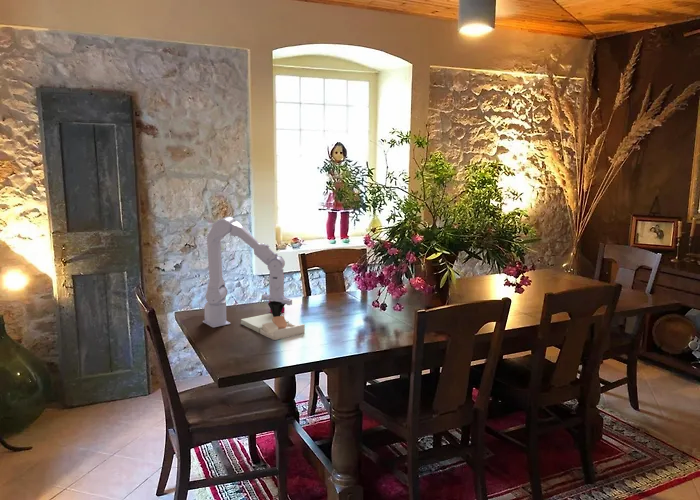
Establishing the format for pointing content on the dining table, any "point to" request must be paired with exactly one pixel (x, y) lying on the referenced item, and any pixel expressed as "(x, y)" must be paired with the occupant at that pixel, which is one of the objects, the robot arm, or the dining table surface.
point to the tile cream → (269, 327)
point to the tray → (285, 332)
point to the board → (258, 321)
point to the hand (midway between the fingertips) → (276, 319)
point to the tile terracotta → (279, 322)
